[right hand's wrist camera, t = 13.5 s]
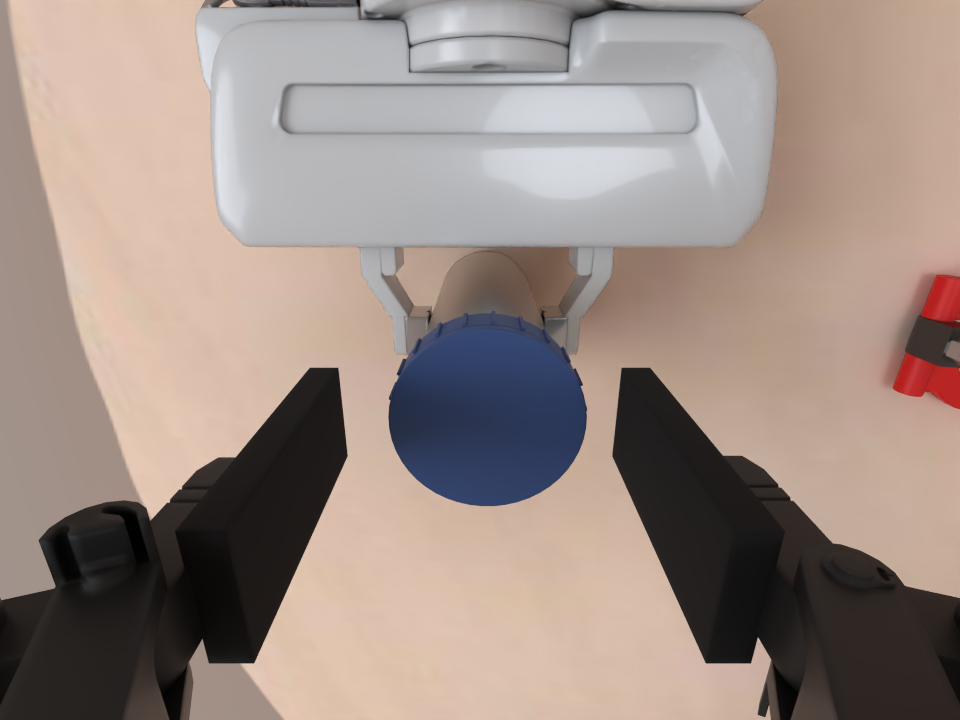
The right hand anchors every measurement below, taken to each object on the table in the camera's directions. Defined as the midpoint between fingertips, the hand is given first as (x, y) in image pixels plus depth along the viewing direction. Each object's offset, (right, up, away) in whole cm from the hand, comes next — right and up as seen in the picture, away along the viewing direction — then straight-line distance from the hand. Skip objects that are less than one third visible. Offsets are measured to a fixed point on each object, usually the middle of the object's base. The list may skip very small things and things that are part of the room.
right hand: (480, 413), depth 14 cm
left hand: (0, +2, +8) cm, 9 cm away
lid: (0, 0, 0) cm, 0 cm away
